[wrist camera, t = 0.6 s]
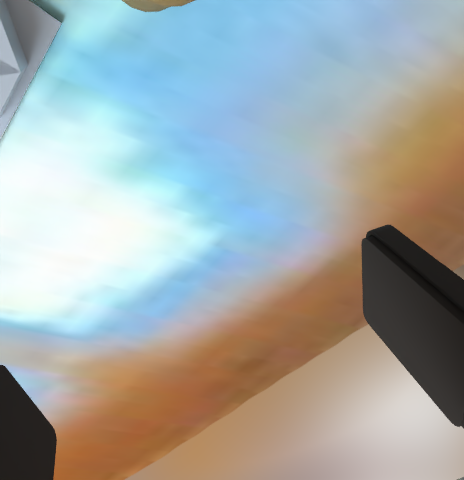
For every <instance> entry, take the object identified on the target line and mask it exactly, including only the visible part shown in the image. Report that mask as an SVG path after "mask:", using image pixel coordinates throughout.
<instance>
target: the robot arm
mask: <svg viewBox="0 0 464 480" xmlns="http://www.w3.org/2000/svg"><path fill="white" fill-rule="evenodd" d="M362 284H363V313H364V317H365V319H366V321H367V322H368V324H369V325H370V326H371V327H372V329H373V330H374V331H375V332H376V333H377V335H378V336H379V337H380V338H381V339H382V341H383V342H384V343H385V344H386V345H387V347H388V348H389V349H390V350H391V351H392V352H393V354H394V355H395V356H396V357H397V359H398V360H399V361H400V362H401V363H402V364H403V365H404V367H405V368H406V369H407V370H408V372H409V373H410V374H411V375H412V376H413V378H414V379H415V380H416V381H417V382H418V384H419V385H420V386H421V387H422V388H423V389H424V391H425V392H426V393H427V394H428V395H429V396H430V398H431V399H432V400H433V401H434V403H435V404H436V405H437V406H438V407H439V409H440V410H441V411H442V412H443V413H444V414H445V416H446V417H447V418H448V419H449V420H450V421H451V423H452V424H454V425H455V426H458V427H459V426H462V427H463V428H464V280H463V279H462V278H461V277H459V276H458V275H457V274H455V273H454V272H453V271H451V270H450V269H449V268H447V267H446V266H445V265H443V264H442V263H440V262H439V261H438V260H436V259H435V258H434V257H432V256H431V255H430V254H429V253H427V252H426V251H425V250H423V249H422V248H421V247H419V246H418V245H417V244H415V243H414V242H413V241H411V240H410V239H409V238H408V237H406V236H405V235H404V234H402V233H401V232H400V231H398V230H397V229H396V228H394V227H393V226H391V225H385V226H382V227H379V228H376V229H374V230H371V231H369V232H367V234H366V238H364V239H363V240H362ZM56 441H57V439H56V433H55V430H54V428H53V427H52V425H51V424H50V423H49V421H48V420H47V419H46V418H45V416H44V415H43V414H42V413H41V411H40V410H39V409H38V408H37V406H36V405H35V404H34V402H33V401H32V400H31V399H30V397H29V396H28V395H27V394H26V392H25V391H24V390H23V388H22V387H21V386H20V385H19V383H18V382H17V381H16V380H15V378H14V377H13V376H12V375H11V373H10V372H9V371H8V369H7V368H6V367H5V366H3V365H0V480H53V476H54V465H55V454H56ZM458 480H464V477H463V478H460V479H458Z"/></svg>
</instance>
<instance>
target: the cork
mask: <svg viewBox="0 0 464 480" xmlns="http://www.w3.org/2000/svg"><path fill="white" fill-rule="evenodd" d="M122 1H123V2H125V3H126V4H128V5H129V6H130V7H132V8H135V9H138V10H141V11H144V12H155V11H161V10H164V9H166V8H168V7H171V6H183V5H185V4H187V3H190V2H192V1H195V0H122Z"/></svg>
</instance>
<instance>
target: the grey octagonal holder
mask: <svg viewBox="0 0 464 480" xmlns="http://www.w3.org/2000/svg"><path fill="white" fill-rule="evenodd" d="M61 24H62V23H61V22H60V21H58V20H57V19H55V18H54V17H53V16H51V15H50V14H48V13H47V12H46V11H44V10H43V9H41V8H40V7H38V6H37V5H36V4H34V3H33V2H31V1H30V0H0V140H1V138H2V136H3V134H4V132H5V130H6V128H7V126H8V124H9V123H10V121H11V119H12V117H13V115H14V113H15V111H16V109H17V107H18V105H19V104H20V102H21V100H22V98H23V96H24V94H25V92H26V90H27V88H28V87H29V85H30V83H31V81H32V79H33V77H34V75H35V73H36V71H37V69H38V68H39V66H40V64H41V62H42V60H43V58H44V56H45V54H46V52H47V50H48V49H49V47H50V45H51V43H52V41H53V39H54V37H55V35H56V33H57V32H58V30H59V28H60V26H61Z"/></svg>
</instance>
